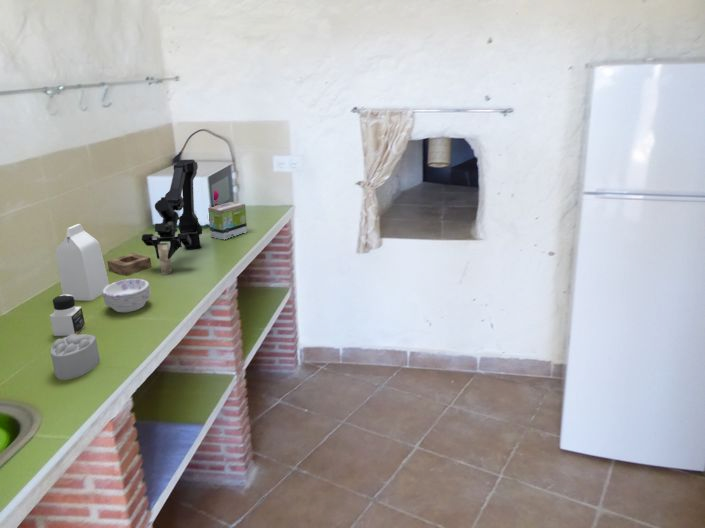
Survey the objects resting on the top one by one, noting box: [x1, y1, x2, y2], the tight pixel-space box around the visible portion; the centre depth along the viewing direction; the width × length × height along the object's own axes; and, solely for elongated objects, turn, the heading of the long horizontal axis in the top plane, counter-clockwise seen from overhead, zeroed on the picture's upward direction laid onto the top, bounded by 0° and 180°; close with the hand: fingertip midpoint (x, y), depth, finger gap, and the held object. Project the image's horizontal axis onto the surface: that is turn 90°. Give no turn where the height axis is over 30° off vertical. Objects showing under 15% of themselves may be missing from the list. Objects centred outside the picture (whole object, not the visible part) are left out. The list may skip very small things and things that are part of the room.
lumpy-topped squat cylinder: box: [50, 333, 101, 381], centre depth 168 cm, size 10×13×9 cm
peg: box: [158, 242, 173, 276], centre depth 240 cm, size 4×4×12 cm
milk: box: [55, 223, 110, 302], centre depth 219 cm, size 12×12×26 cm
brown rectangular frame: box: [107, 252, 152, 276], centre depth 248 cm, size 12×12×4 cm
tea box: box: [207, 201, 248, 241], centre depth 287 cm, size 15×10×15 cm
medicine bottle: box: [49, 294, 86, 337], centre depth 191 cm, size 7×7×12 cm
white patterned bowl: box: [102, 278, 152, 313], centre depth 208 cm, size 15×15×8 cm
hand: (163, 258), depth 238 cm, fingers closed on peg, 4 cm apart
